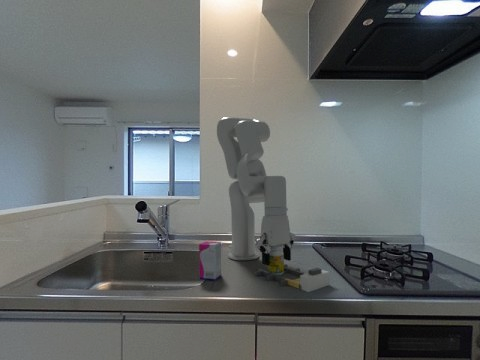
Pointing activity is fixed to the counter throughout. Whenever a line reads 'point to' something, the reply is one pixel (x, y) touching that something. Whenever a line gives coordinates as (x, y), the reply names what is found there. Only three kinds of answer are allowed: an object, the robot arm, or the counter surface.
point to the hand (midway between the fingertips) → (276, 262)
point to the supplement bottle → (276, 260)
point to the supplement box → (210, 260)
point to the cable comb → (306, 281)
